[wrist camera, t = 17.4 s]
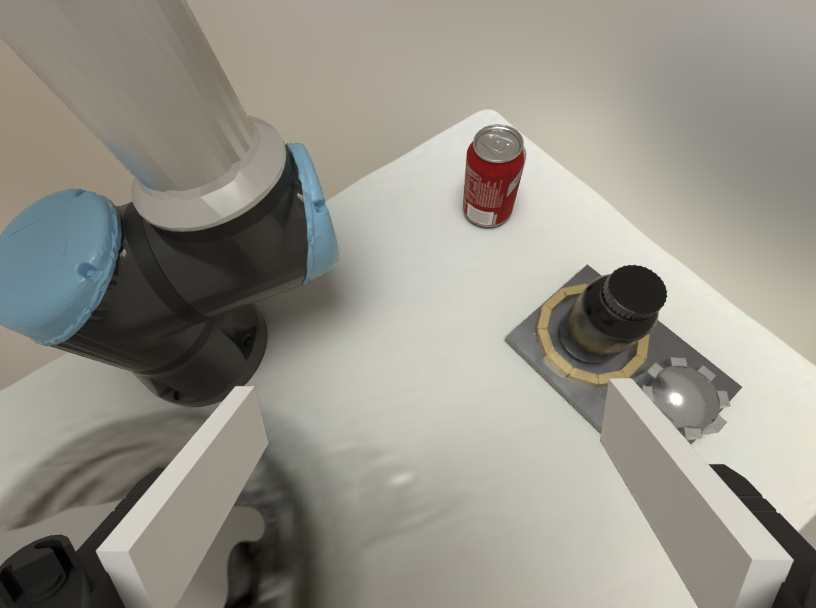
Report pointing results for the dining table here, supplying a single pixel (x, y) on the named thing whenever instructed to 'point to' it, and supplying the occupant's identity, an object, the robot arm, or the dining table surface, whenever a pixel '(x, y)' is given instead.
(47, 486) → the dining table surface
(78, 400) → the dining table surface
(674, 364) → the carrier
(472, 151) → the soda can
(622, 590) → the dining table surface
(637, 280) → the supplement bottle
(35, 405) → the dining table surface
